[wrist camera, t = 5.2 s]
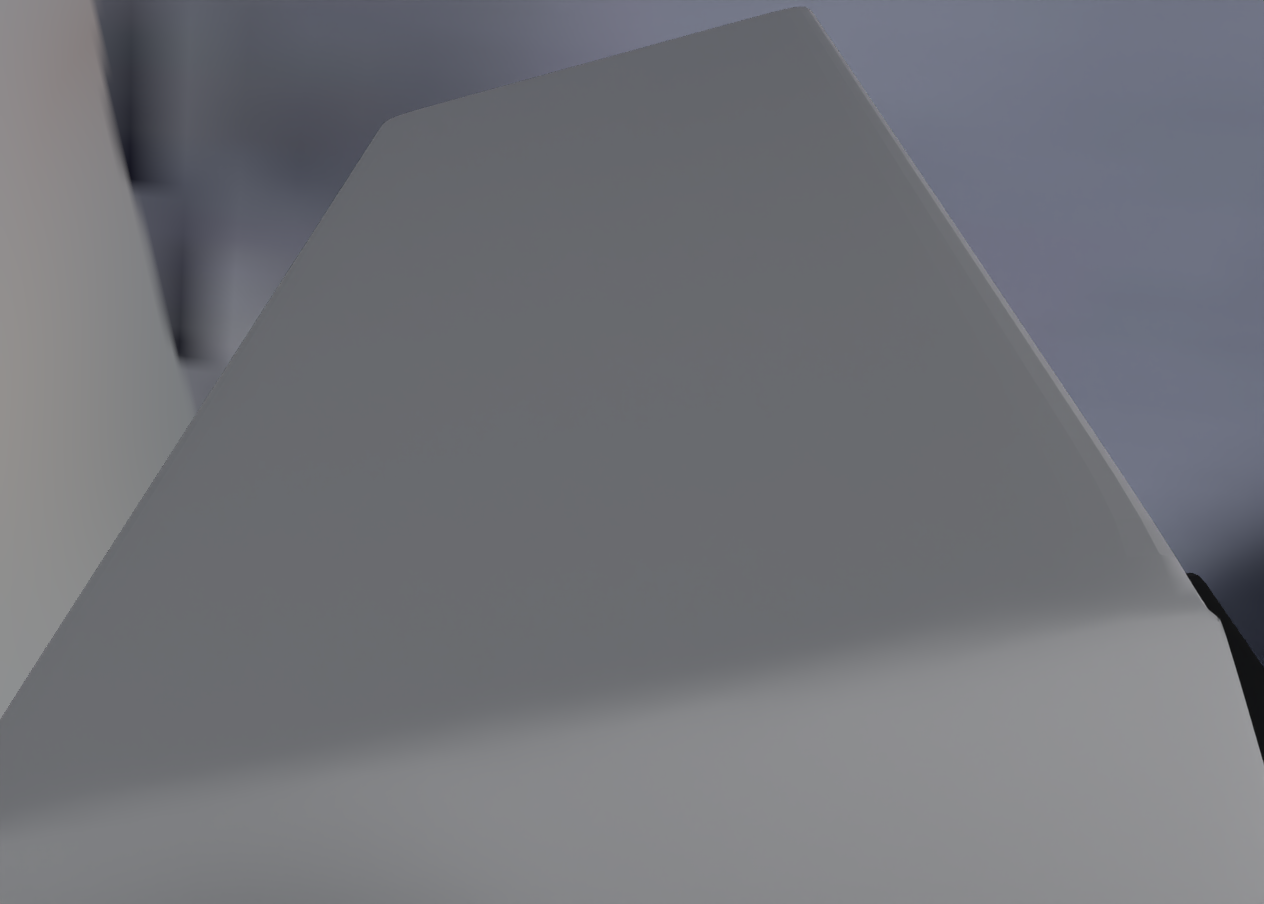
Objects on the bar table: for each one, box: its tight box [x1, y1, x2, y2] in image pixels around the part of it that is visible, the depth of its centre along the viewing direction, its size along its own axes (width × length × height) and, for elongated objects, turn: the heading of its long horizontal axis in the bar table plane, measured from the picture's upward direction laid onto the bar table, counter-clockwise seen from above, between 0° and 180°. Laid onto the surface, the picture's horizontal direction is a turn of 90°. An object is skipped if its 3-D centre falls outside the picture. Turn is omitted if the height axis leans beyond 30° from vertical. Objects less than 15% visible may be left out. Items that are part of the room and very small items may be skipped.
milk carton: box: [0, 7, 1264, 904], centre depth 13 cm, size 7×7×19 cm
